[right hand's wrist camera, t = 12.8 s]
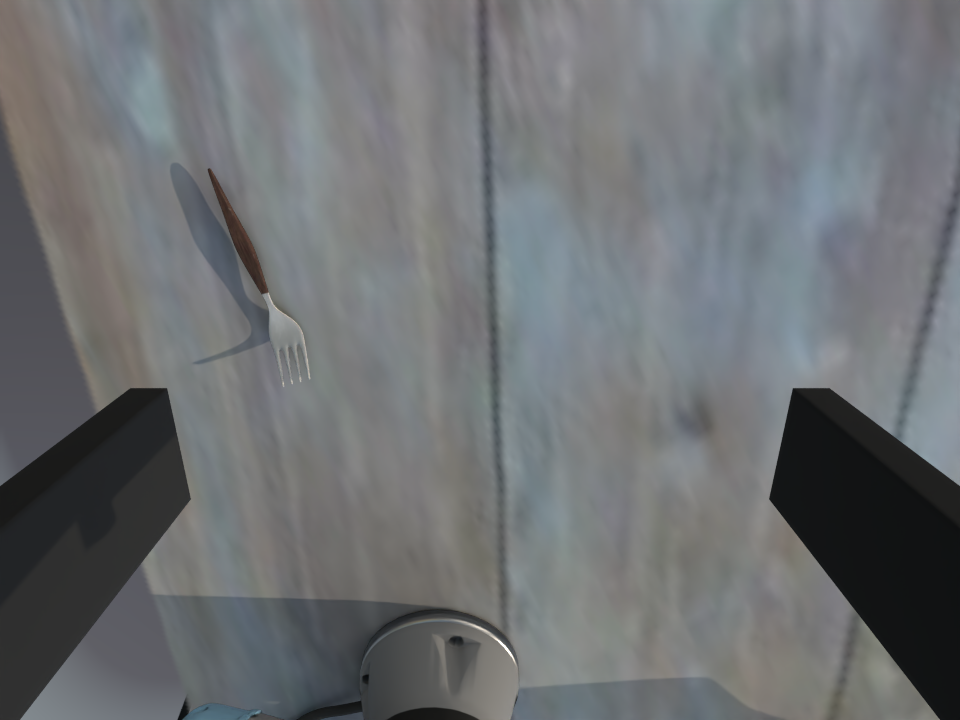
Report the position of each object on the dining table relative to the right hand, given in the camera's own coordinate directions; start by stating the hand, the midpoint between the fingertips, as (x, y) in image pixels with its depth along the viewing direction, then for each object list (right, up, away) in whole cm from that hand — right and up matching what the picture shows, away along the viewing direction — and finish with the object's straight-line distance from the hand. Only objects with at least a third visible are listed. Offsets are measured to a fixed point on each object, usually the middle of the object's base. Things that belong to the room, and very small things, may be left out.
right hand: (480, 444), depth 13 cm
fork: (-16, +8, +31) cm, 36 cm away
